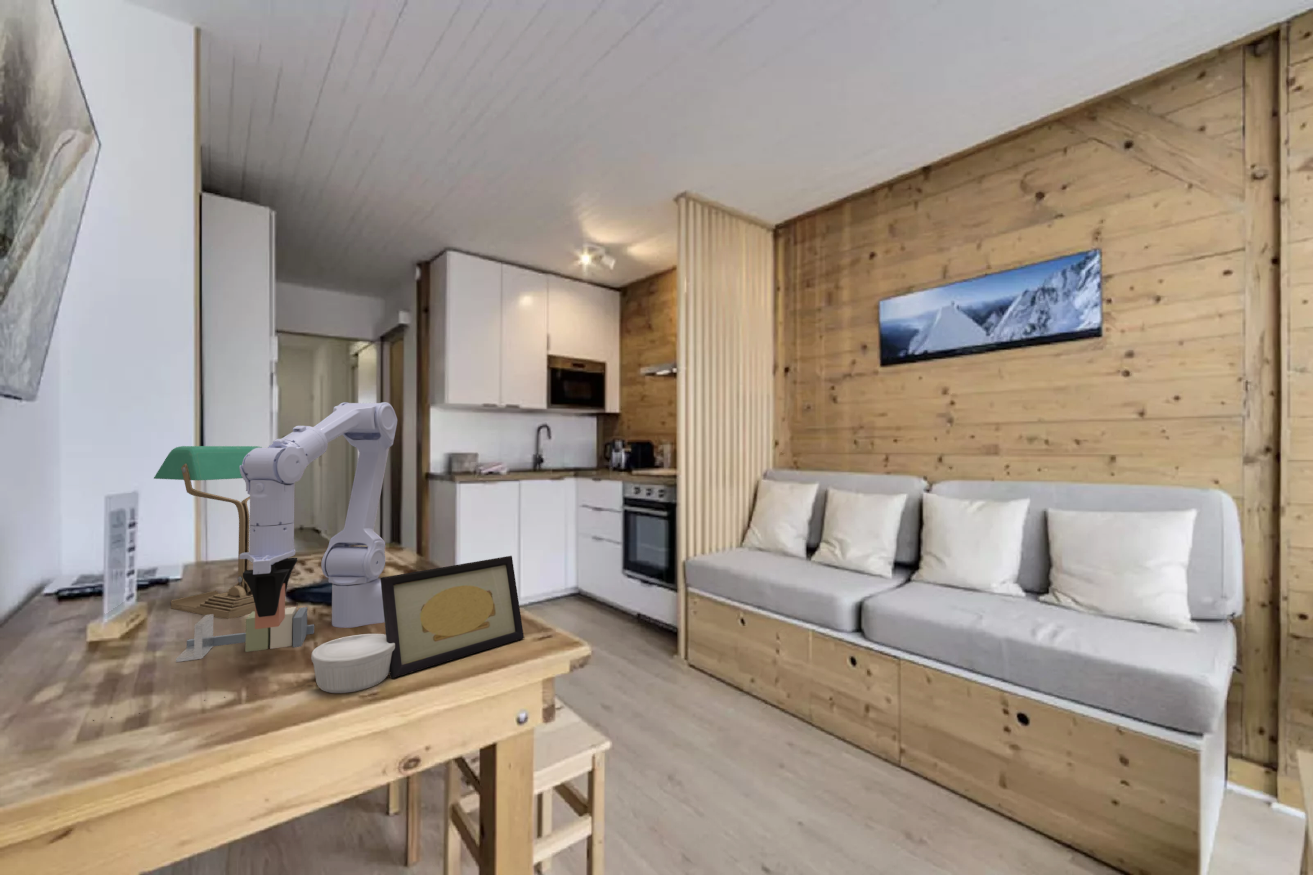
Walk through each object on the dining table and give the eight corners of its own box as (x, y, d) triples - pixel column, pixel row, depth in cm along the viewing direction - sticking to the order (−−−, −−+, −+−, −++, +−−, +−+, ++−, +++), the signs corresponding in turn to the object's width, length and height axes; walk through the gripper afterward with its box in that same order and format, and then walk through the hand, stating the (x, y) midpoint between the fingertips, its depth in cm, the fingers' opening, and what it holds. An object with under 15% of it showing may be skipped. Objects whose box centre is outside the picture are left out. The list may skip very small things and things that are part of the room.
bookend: (212, 646, 91) (213, 614, 91) (201, 658, 86) (202, 624, 86) (188, 649, 89) (189, 616, 89) (176, 662, 84) (176, 627, 84)
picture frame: (393, 679, 81) (390, 578, 82) (371, 669, 87) (368, 575, 88) (524, 639, 98) (520, 556, 99) (498, 633, 104) (494, 554, 105)
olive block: (272, 640, 94) (273, 609, 94) (267, 649, 90) (267, 616, 90) (251, 643, 92) (252, 611, 93) (245, 652, 88) (245, 619, 89)
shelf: (314, 638, 98) (314, 605, 98) (307, 653, 91) (307, 617, 91) (188, 654, 90) (188, 618, 90) (169, 672, 83) (170, 633, 83)
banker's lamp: (208, 625, 105) (211, 446, 105) (145, 612, 112) (148, 445, 113) (288, 603, 119) (291, 446, 120) (228, 593, 127) (230, 446, 127)
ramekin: (377, 659, 89) (377, 627, 89) (409, 678, 81) (409, 643, 82) (299, 682, 80) (299, 647, 80) (327, 705, 73) (328, 666, 73)
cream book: (296, 637, 95) (296, 606, 95) (291, 646, 91) (292, 613, 91) (275, 640, 94) (276, 609, 94) (270, 649, 90) (270, 616, 90)
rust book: (284, 617, 87) (285, 583, 87) (278, 626, 82) (279, 590, 82) (262, 620, 85) (262, 585, 86) (254, 629, 81) (255, 592, 81)
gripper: (252, 519, 89) (250, 601, 89) (227, 532, 76) (225, 628, 76) (302, 516, 92) (301, 596, 92) (287, 528, 79) (285, 621, 79)
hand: (271, 610), depth 84 cm, fingers closed on rust book, 5 cm apart
